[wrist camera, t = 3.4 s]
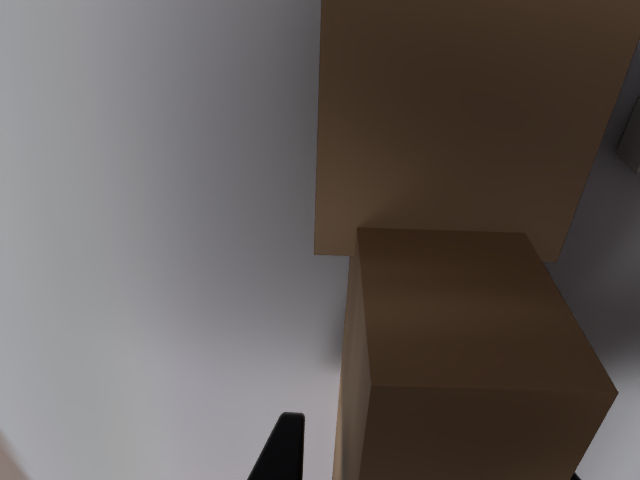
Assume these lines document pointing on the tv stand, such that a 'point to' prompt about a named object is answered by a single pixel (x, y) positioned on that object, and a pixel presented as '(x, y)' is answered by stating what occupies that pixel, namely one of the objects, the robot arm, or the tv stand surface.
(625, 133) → the mat
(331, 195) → the brown wooden bar
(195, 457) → the tv stand surface
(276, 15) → the tv stand surface
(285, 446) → the robot arm
